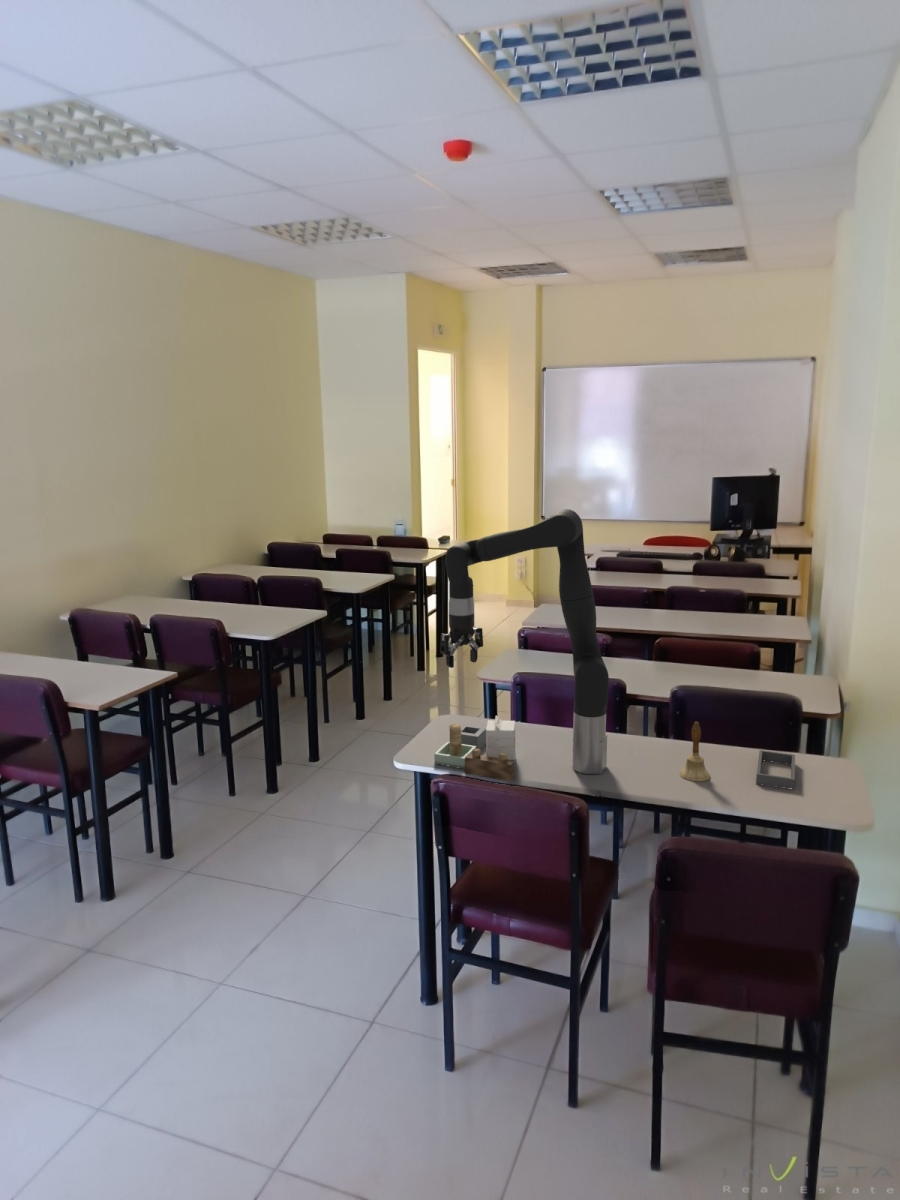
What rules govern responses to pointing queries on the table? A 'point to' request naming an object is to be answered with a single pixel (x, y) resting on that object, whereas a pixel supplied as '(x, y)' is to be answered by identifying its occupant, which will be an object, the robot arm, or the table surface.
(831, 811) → the table surface
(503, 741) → the ink box
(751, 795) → the table surface
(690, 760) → the hand bell
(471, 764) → the peg rack
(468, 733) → the socket block
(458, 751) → the dowel
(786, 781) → the frame
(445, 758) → the tray
